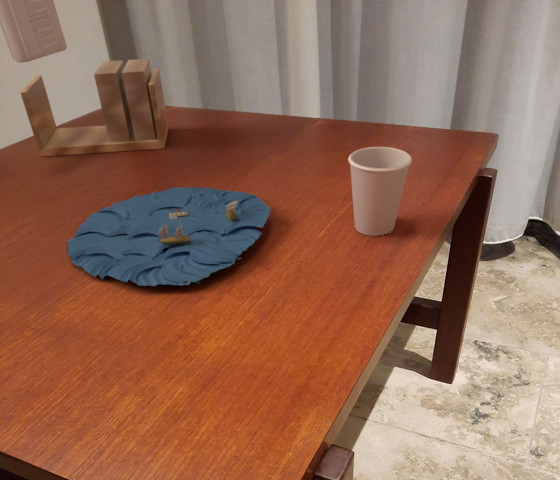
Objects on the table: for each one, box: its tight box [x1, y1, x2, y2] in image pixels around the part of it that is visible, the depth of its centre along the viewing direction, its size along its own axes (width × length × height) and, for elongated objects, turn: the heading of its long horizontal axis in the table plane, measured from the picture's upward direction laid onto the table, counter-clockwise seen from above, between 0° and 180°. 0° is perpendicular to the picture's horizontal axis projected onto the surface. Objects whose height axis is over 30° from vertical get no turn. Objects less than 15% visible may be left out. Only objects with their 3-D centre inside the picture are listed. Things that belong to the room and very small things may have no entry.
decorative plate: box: [67, 186, 272, 287], centre depth 78 cm, size 30×30×5 cm
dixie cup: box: [348, 146, 413, 237], centre depth 77 cm, size 8×8×10 cm
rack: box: [19, 58, 169, 158], centre depth 108 cm, size 24×12×14 cm, turn 95°
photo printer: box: [0, 0, 67, 63], centre depth 88 cm, size 10×4×12 cm, turn 157°
